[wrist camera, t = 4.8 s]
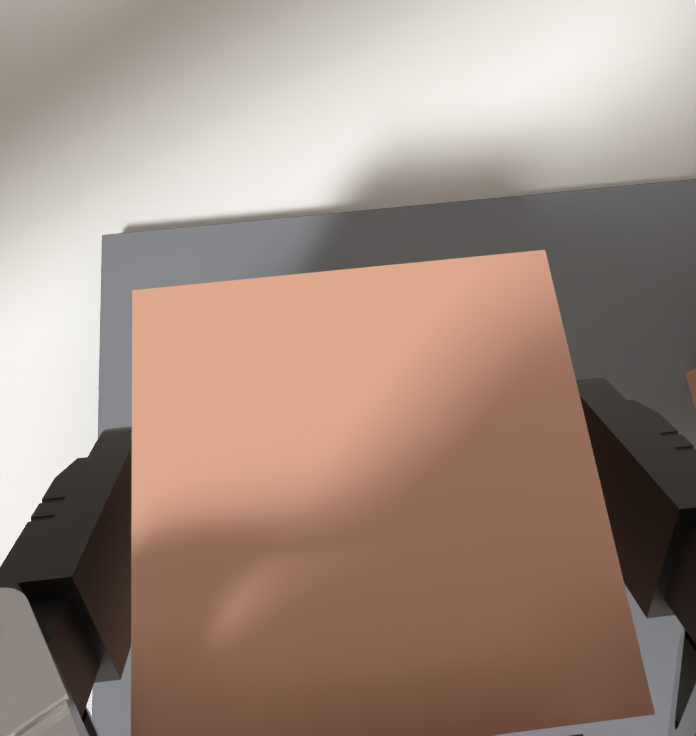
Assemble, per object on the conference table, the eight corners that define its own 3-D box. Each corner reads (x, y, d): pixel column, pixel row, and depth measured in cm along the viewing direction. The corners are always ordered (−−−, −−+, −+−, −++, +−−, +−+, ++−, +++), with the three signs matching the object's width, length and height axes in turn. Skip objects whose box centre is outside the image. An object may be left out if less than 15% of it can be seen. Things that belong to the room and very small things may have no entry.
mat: (103, 929, 13) (86, 955, 12) (112, 247, 18) (102, 235, 17) (1143, 785, 13) (1191, 800, 13) (871, 175, 18) (893, 160, 18)
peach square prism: (251, 636, 14) (130, 782, 6) (239, 407, 15) (132, 290, 8) (483, 608, 14) (655, 714, 6) (446, 385, 16) (544, 249, 8)
